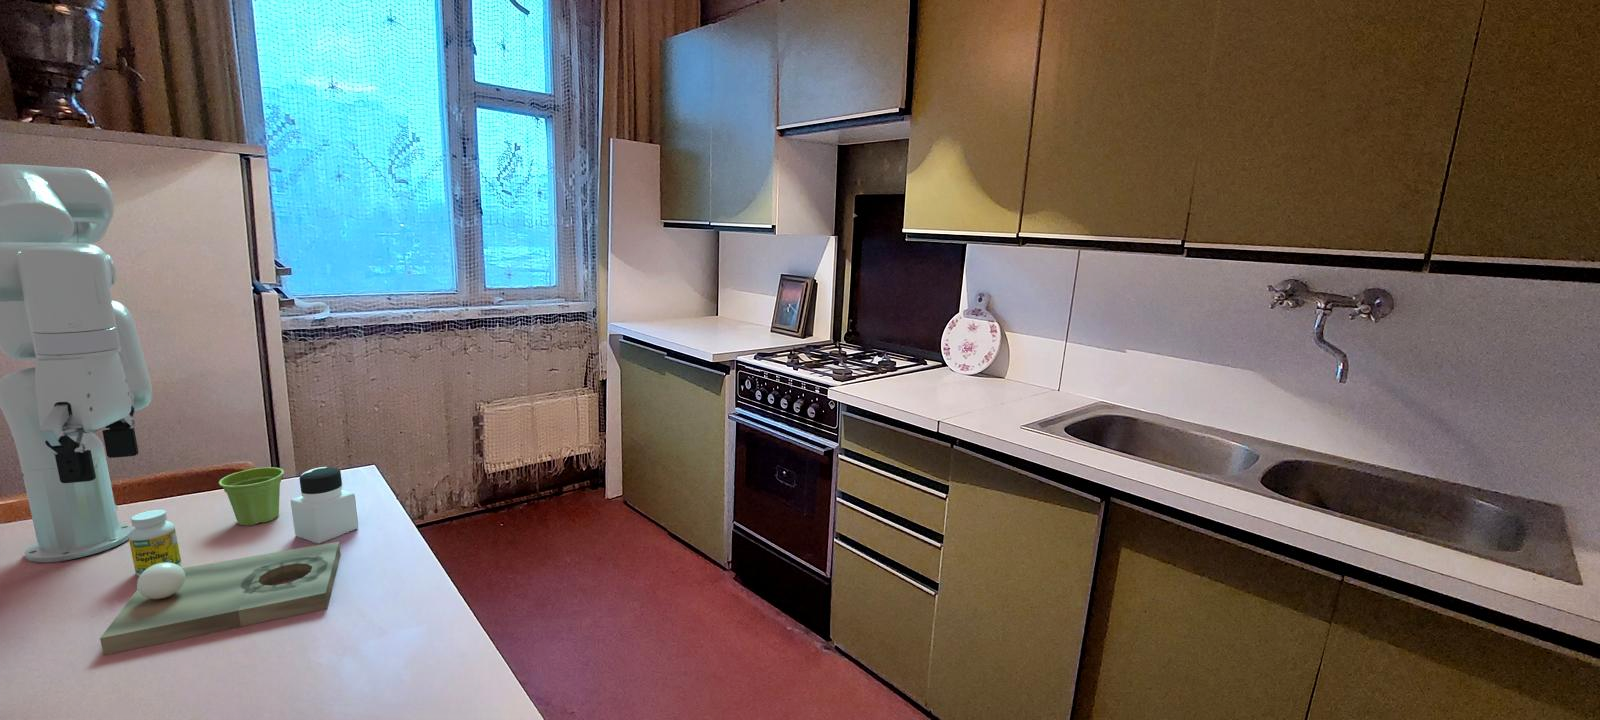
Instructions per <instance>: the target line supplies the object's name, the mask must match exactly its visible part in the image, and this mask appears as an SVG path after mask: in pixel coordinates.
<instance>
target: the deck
mask: <svg viewBox="0 0 1600 720" xmlns="http://www.w3.org/2000/svg"><path fill="white" fill-rule="evenodd" d="M341 555H342V554H341V546H340V541H334V542H329V543H323V544H322V543H321V544H317V545H311V546H305V547H304V546H303V547H299V548H298V547H297V548H294V549H293V548H292V549H288V550H287V549H286V550H281V551H276V552H275V551H274V552H269V553H264V554H259V555H258V554H257V555H251V556H246V557H240V558H235V559H229V560H223V561H218V562H212V563H205V564H201V565H199V564H198V565H194V566H189V567H181V568H182V569H183V570H184V572H185V582H184V584H183V586H182V587H181V588H180V590H178V591H177V592H176V593H175V594H173V595H171V596H169V597H166V598H162V599H150V598H147V597H145V596H143V595H142V594H141V593H140V592H139V591H138V588H137V589H136V591H135V592H134V593H133V594H132V596H131V597H130V598H129V600H128V601H127V603H125V605H124V606H123V607H122V609H121V610H120V612H119V613H118V614H117V616H116V617H115V618H114V619H113V621H112V622H111V623H110V624H109V626H108V627H107V628H106V630H105V631H104V633H102V635H101V636H100V638H99V639H100V641H99V642H100V644H101V650H102V656H108V655H112V654H117V653H121V652H126V651H130V650H135V649H140V648H145V647H149V646H155V645H159V644H163V643H164V644H165V643H169V642H173V641H178V640H183V639H189V638H192V637H193V638H194V637H197V636H202V635H206V634H207V635H208V634H212V633H216V632H217V633H218V632H222V631H227V630H231V629H236V628H240V627H241V628H242V627H245V626H250V625H254V624H258V623H264V622H269V621H273V620H279V619H284V618H286V617H287V618H288V617H293V616H296V615H302V614H306V613H307V614H308V613H311V612H316V611H320V610H321V611H322V610H326V609H328V608H329V603H330V601H331V596H332V593H333V587H334V584H335V579H336V576H337V571H338V569H339V563H340V559H341ZM292 579H294V580H292ZM295 579H296V580H295ZM287 580H292V581H290V582H286V583H281V582H284V581H287ZM278 583H279V584H278ZM280 583H281V584H280Z"/></svg>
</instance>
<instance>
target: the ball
mask: <svg viewBox="0 0 1600 720" xmlns="http://www.w3.org/2000/svg"><path fill="white" fill-rule="evenodd" d="M182 568H183V567H182V566H181V565H180V566H179V565H177V564H174V563H168V562H166V563H159V564H155V565H153V566H151V567H149V568H147V569H146V570H145V571H144V572H143V573H142V574H141V575H140V576H138V578H137V582H136V587H137V589H138V591H139V592H140V593H141V594H142V595H143V596H145V597H147V598H150V599H162V598H166V597H169V596H171V595H173V594H175V593H176V592H177V591H178V590H180V588H181V587H182V586H183V584H184V582H185V572H184V570H183V569H182Z"/></svg>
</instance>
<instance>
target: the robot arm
mask: <svg viewBox="0 0 1600 720" xmlns="http://www.w3.org/2000/svg"><path fill="white" fill-rule="evenodd" d="M114 212H115V201H114V195H113V193H112V191H111V188H110V187H109V185H108V184H107V182H106V181H105V179H104V178H102V177H101V176H99V174H97V173H95V172H94V171H91V170H89V169H86V168H79V167H66V166H48V165H33V164H31V165H30V164H18V163H17V164H14V163H1V164H0V350H1V352H3V354H5V355H6V357H9V358H11V359H14V360H19V361H21V360H22V361H34V360H35V366H32V367H26V368H23V369H19V370H16V371H12V372H10V373H8V374H5V375H3V377H1V378H0V410H1V412H2V414H3V416H4V418H5V420H6V423H7V424H8V427H9V431H10V432H11V434H12V438H13V440H14V444H15V445H14V446H15V448H16V452H17V456H18V460H19V465H20V468H21V473H22V478H23V482H24V487H25V491H26V496H27V500H28V504H29V505H28V506H29V509H30V513H31V520H32V523H33V528H34V531H35V537H36V542H33V543H32V544H31V545H29V546H28V547H27V548H26V549H25V551H24V554H25V555H24V556H25V559H26V560H27V561H30V562H34V563H55V562H57V563H58V562H64V561H70V560H76V559H79V558H84V557H87V556H88V557H89V556H92V555H96V554H99V553H101V552H104V551H108V550H110V549H113V548H116V547H117V546H119V545H122V544H123V543H125V542H126V541H129V537H128V535H129V533H130V531H131V530H133V529H134V528H133V526H132V525H130V524H127V523H120V522H119V520H118V519H119V518H118V515H117V511H118V509H119V507H118V505H117V504H116V503H115V498H114V492H113V489H112V483H111V478H110V472H109V467H108V462H107V458H111V459H115V458H126V457H135V456H137V455H138V454H139V447H138V442H137V436H136V431H135V425H136V420H135V419H134V414H135V412H136V411H140V410H142V409H144V408H146V407H148V406H149V405H150V404H151V402H152V400H153V385H152V382H151V378H150V377H151V376H150V374H149V370H148V367H147V363H146V359H145V354H144V352H143V351H144V350H143V348H142V344H141V340H140V336H139V332H138V330H137V326H136V323H135V321H134V318H133V315H132V313H131V312H130V311H129V309H128V308H127V307H126V306H125V305H124V304H123V303H121V302H119V301H116V300H113V299H112V294H111V288H112V286H113V285H115V283H116V282H117V281H116V280H117V277H116V273H117V272H116V271H117V270H116V267H115V265H114V261H113V258H112V257H111V255H109V254H106V252H105V251H104V250H103V249H102V248H100V247H99V246H97V245H96V244H95V243H98V242H100V241H101V240H103V239H104V238H105V236H106V235H107V234H106V233H107V231H108V228H109V226H110V224H111V222H112V220H113V218H114ZM94 244H95V245H94ZM103 428H105V429H103ZM102 429H103V430H102ZM99 430H102V431H101V432H102V437H103V441H104V443H103V442H102V439H100V438H99V436H97V435H96V434H95V432H98V431H99Z"/></svg>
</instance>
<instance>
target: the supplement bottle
mask: <svg viewBox="0 0 1600 720" xmlns="http://www.w3.org/2000/svg"><path fill="white" fill-rule="evenodd" d="M130 520H131V527H132V529H133V530H131V531H130V533H129V535H128V537H129V539H128V543H129V546H130V552H131V557H132V562H133V567H134V571H135V574H136V576H137V577H140V575H141V574H142V573H143V572H144V571H145V570H146V569H147V568H149V567H151V566H153V565H155V564H159V563H166V562H168V563H174V564H177V565H179V566H180V567H181V564H182V559H181V558H182V557H181V553H180V548H179V547H180V546H179V541H178V536H177V533H176V532H177V531H176V530H177V529H176V526H175V524H174V523H173V522H171V521H168V516H167V512H166V510H164V509H154V510H153V509H151V510H147V511H144V512H140V513H138V514H134V515H133V516H131V518H130Z"/></svg>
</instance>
